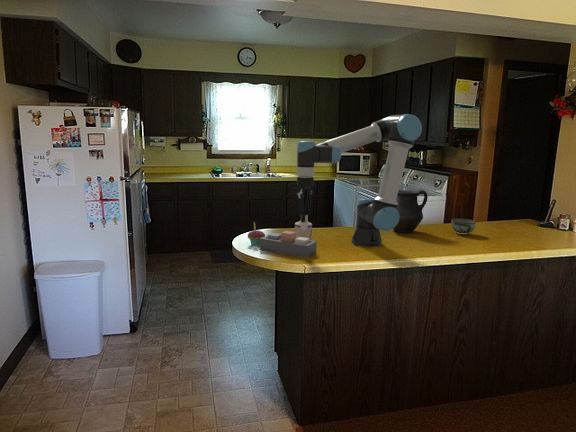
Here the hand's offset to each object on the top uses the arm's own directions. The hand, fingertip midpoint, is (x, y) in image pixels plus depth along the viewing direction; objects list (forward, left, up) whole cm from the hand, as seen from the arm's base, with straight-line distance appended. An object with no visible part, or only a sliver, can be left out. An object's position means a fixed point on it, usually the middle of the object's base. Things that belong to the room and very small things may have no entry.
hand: (304, 228), depth 197 cm
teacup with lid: (+10, -23, -12) cm, 28 cm away
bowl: (-61, -91, -12) cm, 110 cm away
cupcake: (+25, -2, -12) cm, 28 cm away
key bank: (+7, 0, -12) cm, 14 cm away
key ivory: (0, 0, -10) cm, 10 cm away
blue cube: (+14, 0, -10) cm, 17 cm away
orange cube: (+7, 0, -8) cm, 11 cm away
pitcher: (-31, -78, -12) cm, 84 cm away
